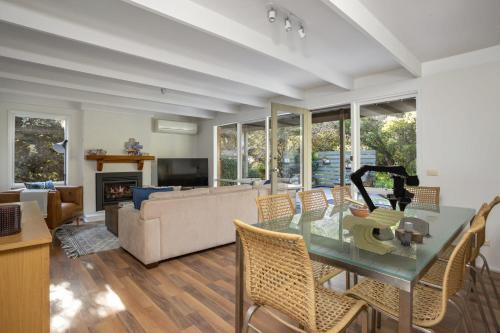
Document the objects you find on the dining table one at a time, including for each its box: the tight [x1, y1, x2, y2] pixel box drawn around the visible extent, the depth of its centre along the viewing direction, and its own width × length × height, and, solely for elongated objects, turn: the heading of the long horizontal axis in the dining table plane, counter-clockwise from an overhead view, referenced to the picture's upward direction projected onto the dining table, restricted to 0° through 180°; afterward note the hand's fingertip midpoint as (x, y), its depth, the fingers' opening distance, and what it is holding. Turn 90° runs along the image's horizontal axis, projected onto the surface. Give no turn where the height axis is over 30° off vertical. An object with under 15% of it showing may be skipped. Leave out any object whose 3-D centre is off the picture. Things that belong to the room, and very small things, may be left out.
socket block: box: [394, 228, 424, 243], centre depth 150 cm, size 10×10×4 cm
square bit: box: [404, 222, 413, 233], centre depth 150 cm, size 3×3×9 cm
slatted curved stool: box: [341, 207, 405, 256], centre depth 135 cm, size 30×16×18 cm, turn 127°
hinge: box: [396, 216, 430, 237], centre depth 165 cm, size 17×5×10 cm, turn 37°
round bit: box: [399, 232, 412, 247], centre depth 139 cm, size 5×5×6 cm
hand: (398, 212), depth 160 cm, fingers open, 9 cm apart
